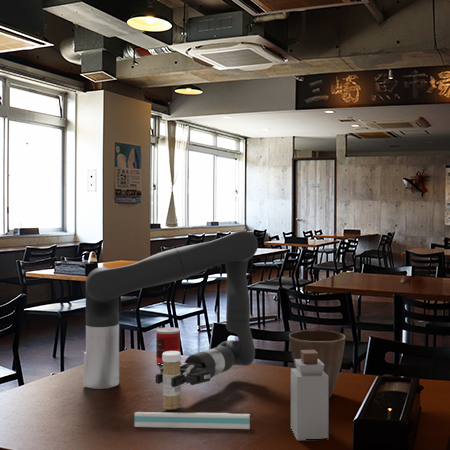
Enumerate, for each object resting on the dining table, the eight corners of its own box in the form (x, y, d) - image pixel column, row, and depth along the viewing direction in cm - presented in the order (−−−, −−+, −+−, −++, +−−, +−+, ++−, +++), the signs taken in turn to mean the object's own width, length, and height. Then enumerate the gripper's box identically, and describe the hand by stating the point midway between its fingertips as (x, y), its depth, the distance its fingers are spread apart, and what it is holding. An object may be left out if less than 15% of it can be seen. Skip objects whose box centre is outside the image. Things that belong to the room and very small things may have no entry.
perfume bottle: (290, 428, 121) (290, 348, 121) (320, 427, 121) (320, 347, 121) (297, 440, 114) (297, 355, 114) (328, 439, 115) (328, 355, 115)
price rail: (134, 426, 121) (134, 413, 121) (142, 412, 131) (143, 399, 131) (249, 429, 120) (249, 415, 120) (249, 413, 130) (249, 401, 130)
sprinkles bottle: (174, 402, 135) (174, 349, 135) (184, 407, 132) (184, 352, 132) (158, 406, 133) (158, 352, 132) (168, 411, 129) (168, 355, 129)
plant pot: (300, 406, 136) (300, 342, 136) (281, 388, 150) (281, 331, 150) (355, 402, 139) (355, 340, 139) (331, 385, 153) (331, 329, 153)
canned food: (183, 360, 180) (183, 328, 180) (173, 366, 173) (173, 332, 173) (162, 359, 183) (163, 326, 183) (152, 364, 175) (152, 331, 175)
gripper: (183, 347, 148) (142, 361, 134) (227, 355, 140) (188, 370, 126) (183, 375, 148) (142, 391, 134) (227, 383, 140) (188, 402, 126)
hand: (164, 381), depth 130 cm, fingers closed on sprinkles bottle, 4 cm apart
